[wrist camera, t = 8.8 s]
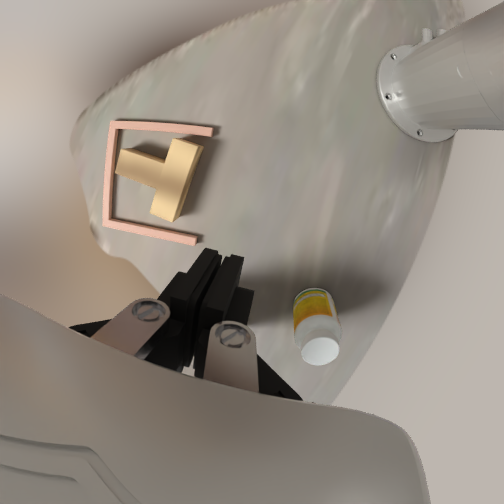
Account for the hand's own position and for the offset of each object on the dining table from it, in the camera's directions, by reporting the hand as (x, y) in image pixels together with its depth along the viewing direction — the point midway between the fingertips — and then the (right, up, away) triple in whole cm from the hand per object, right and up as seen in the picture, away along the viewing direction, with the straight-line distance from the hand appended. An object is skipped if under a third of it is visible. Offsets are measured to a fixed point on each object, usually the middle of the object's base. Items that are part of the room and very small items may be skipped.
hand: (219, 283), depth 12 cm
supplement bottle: (+9, -5, +24) cm, 26 cm away
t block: (-10, +11, +19) cm, 24 cm away
